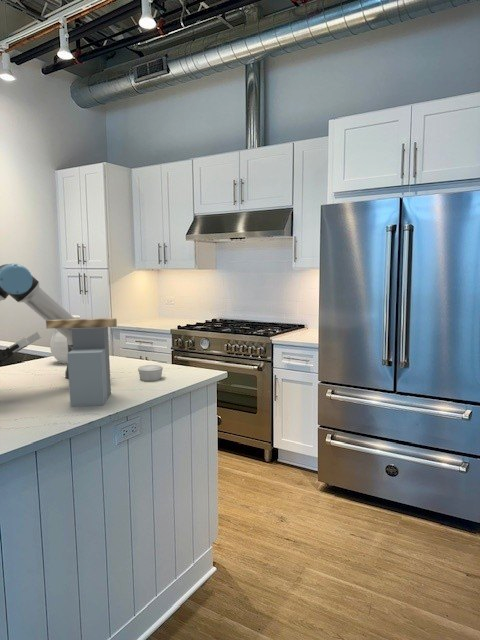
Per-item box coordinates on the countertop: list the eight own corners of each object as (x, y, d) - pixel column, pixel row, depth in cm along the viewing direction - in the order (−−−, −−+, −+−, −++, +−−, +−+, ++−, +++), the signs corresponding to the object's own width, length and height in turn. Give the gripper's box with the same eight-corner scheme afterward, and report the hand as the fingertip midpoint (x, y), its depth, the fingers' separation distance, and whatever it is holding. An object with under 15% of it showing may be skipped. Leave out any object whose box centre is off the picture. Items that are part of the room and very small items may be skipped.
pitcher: (79, 357, 263) (76, 313, 260) (93, 361, 249) (91, 316, 246) (45, 362, 250) (42, 316, 247) (59, 367, 237) (56, 319, 234)
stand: (70, 406, 171) (66, 331, 168) (80, 394, 187) (76, 325, 184) (103, 405, 172) (99, 330, 169) (111, 393, 188) (107, 325, 185)
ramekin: (157, 382, 205) (157, 370, 204) (134, 381, 207) (133, 369, 206) (166, 376, 216) (166, 365, 215) (144, 375, 218) (143, 364, 217)
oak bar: (46, 328, 177) (45, 320, 177) (48, 327, 180) (48, 319, 180) (115, 326, 180) (115, 319, 179) (116, 325, 183) (116, 318, 182)
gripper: (-37, 365, 165) (15, 334, 165) (-7, 351, 190) (38, 325, 190) (-24, 382, 166) (27, 351, 167) (4, 367, 191) (48, 340, 191)
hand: (33, 337), depth 178 cm, fingers open, 13 cm apart
